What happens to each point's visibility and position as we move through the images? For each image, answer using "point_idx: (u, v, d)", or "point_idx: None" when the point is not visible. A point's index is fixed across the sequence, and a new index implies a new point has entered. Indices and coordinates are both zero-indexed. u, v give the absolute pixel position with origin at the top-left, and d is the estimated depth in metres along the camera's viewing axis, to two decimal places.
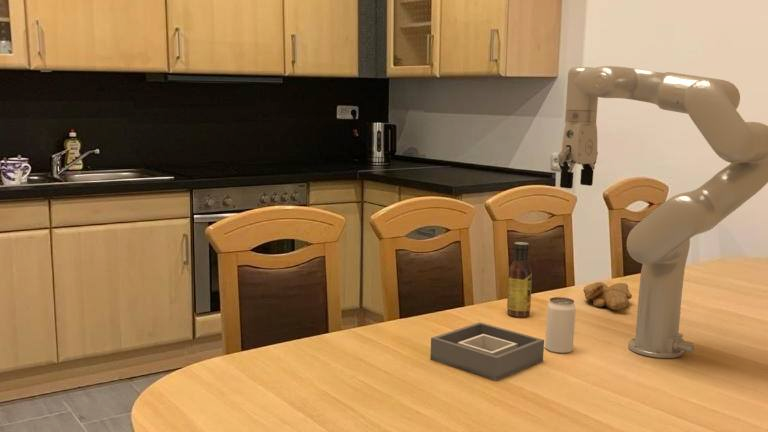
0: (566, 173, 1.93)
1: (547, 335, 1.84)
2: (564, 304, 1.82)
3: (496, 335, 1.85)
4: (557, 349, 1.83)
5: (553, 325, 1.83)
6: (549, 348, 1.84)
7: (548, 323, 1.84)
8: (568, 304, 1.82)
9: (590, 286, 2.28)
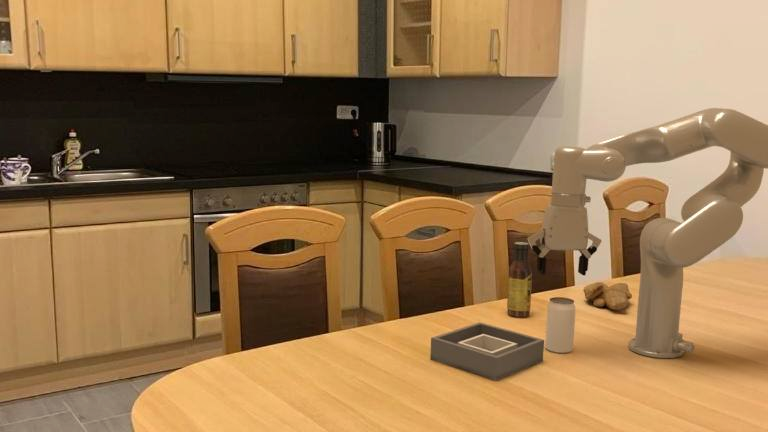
0: None
1: (547, 335, 1.84)
2: (564, 304, 1.82)
3: (496, 335, 1.85)
4: (557, 349, 1.83)
5: (553, 325, 1.83)
6: (549, 348, 1.84)
7: (548, 323, 1.84)
8: (568, 304, 1.82)
9: (590, 286, 2.27)
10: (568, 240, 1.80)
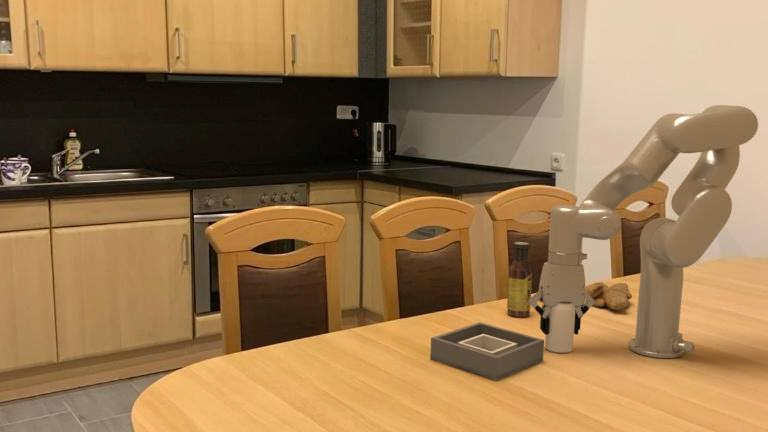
0: None
1: (547, 335, 1.84)
2: (564, 304, 1.82)
3: (496, 335, 1.85)
4: (557, 349, 1.83)
5: (553, 325, 1.83)
6: (549, 348, 1.84)
7: None
8: (568, 304, 1.82)
9: (590, 286, 2.27)
10: (565, 298, 1.82)
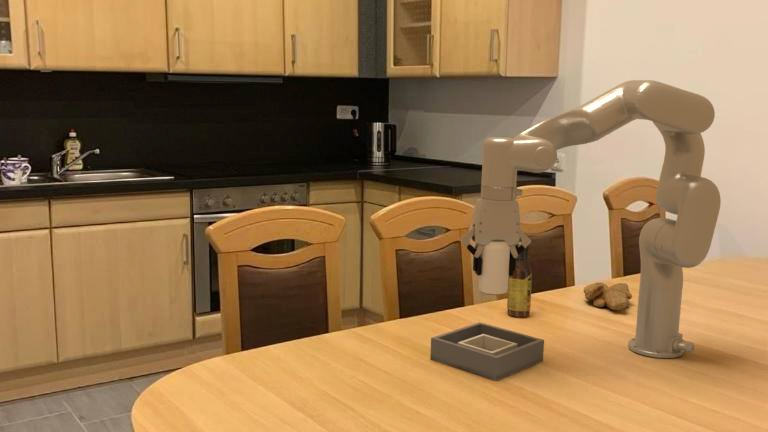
0: None
1: (480, 276, 1.73)
2: (497, 242, 1.71)
3: (496, 335, 1.85)
4: (490, 291, 1.72)
5: (486, 265, 1.72)
6: (482, 290, 1.73)
7: None
8: (501, 242, 1.71)
9: (590, 286, 2.27)
10: (498, 235, 1.71)
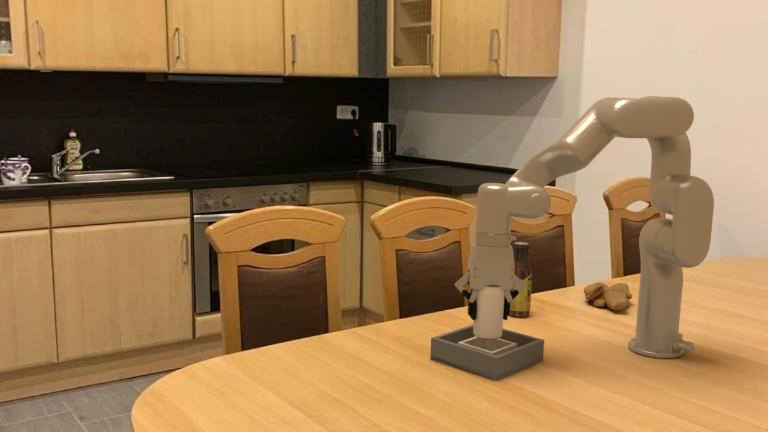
0: None
1: (475, 320, 1.75)
2: (491, 287, 1.72)
3: None
4: (485, 335, 1.73)
5: (481, 310, 1.73)
6: (476, 334, 1.74)
7: None
8: (496, 287, 1.72)
9: (590, 286, 2.27)
10: (493, 281, 1.72)
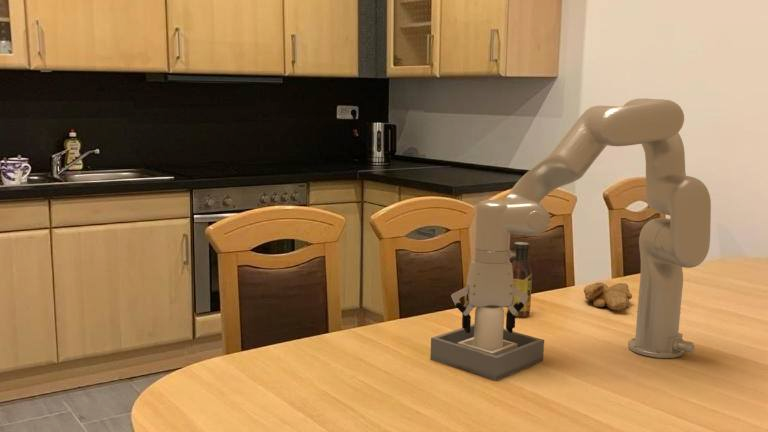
0: None
1: (475, 341, 1.75)
2: (491, 308, 1.73)
3: None
4: None
5: (481, 331, 1.74)
6: None
7: (475, 328, 1.75)
8: (495, 308, 1.73)
9: (590, 286, 2.27)
10: (492, 297, 1.73)
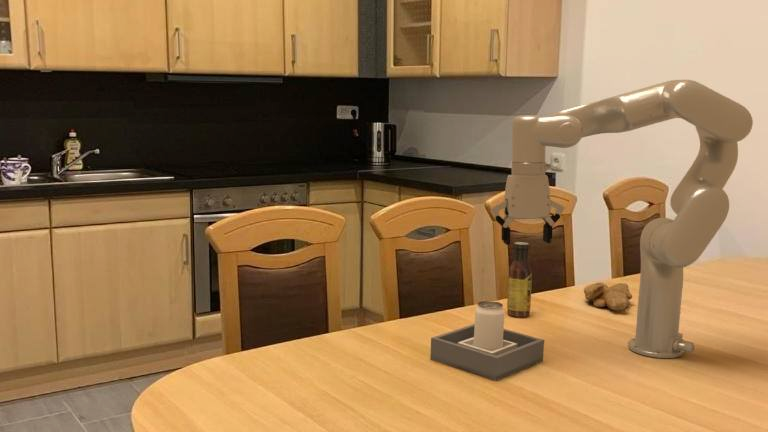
0: None
1: (475, 341, 1.75)
2: (491, 308, 1.73)
3: None
4: None
5: (481, 331, 1.74)
6: None
7: (475, 328, 1.75)
8: (496, 308, 1.73)
9: (590, 286, 2.27)
10: (531, 209, 1.79)
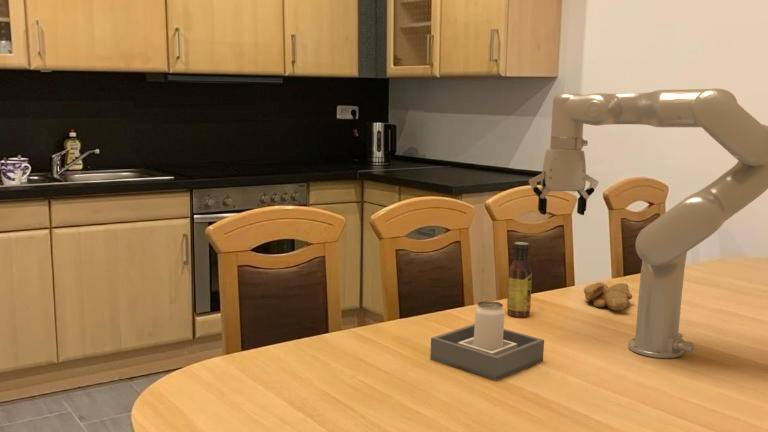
0: None
1: (475, 341, 1.75)
2: (491, 308, 1.73)
3: None
4: None
5: (481, 331, 1.74)
6: None
7: (475, 328, 1.75)
8: (496, 308, 1.73)
9: (590, 286, 2.27)
10: (567, 181, 1.91)
